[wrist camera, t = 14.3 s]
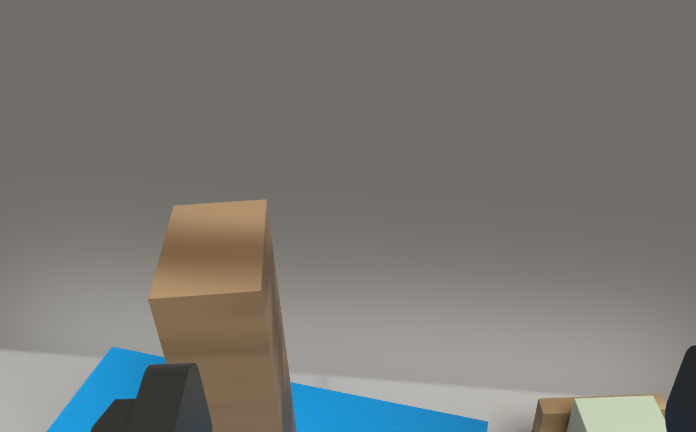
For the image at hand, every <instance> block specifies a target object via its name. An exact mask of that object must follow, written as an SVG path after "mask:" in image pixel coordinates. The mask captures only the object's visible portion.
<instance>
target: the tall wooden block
mask: <svg viewBox="0 0 696 432" xmlns="http://www.w3.org/2000/svg"><path fill="white" fill-rule="evenodd" d="M148 300H149V304H150V307H151V310H152V314H153V318H154V321H155V325H156V328H157V332H158V335H159V339H160V342H161V346H162V349H163V353H164V356H165V360H166V363H167V364H174V363H196V364H197V366H198V369H199V372H200V376H201V380H202V385H203V389H204V393H205V397H206V401H207V405H208V409H209V413H210V417H211V422H212V432H297V430H296V423H295V415H294V407H293V400H292V392H291V384H290V377H289V369H288V361H287V354H286V347H285V339H284V331H283V323H282V315H281V307H280V300H279V292H278V285H277V277H276V269H275V261H274V254H273V246H272V238H271V230H270V223H269V215H268V207H267V200H266V199H265V200H251V201H236V202H221V203H206V204H192V205H177V206H174V207H173V210H172V214H171V218H170V222H169V225H168V229H167V232H166V236H165V240H164V243H163V247H162V251H161V254H160V258H159V262H158V265H157V269H156V273H155V276H154V280H153V283H152V287H151V291H150V295H149V298H148Z"/></svg>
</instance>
